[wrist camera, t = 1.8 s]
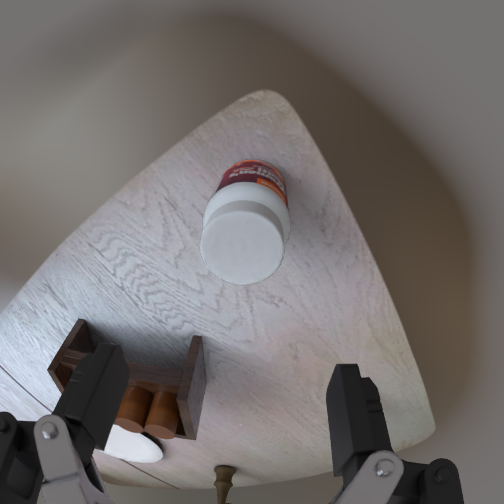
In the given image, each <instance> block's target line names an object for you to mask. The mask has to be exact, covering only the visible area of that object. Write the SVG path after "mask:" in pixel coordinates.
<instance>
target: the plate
mask: <svg viewBox="0 0 504 504" xmlns="http://www.w3.org/2000/svg"><path fill="white" fill-rule="evenodd" d="M98 450H99V449H98ZM100 451H102V450H100ZM102 452H104V453H106V454H109V455H111V456H114V457H117V458H120V459H124V460H127V461H132V462H138V463H154V462H157V461H160V460H161V459H162V457H163V453H162V450H161V449H160V448H159V446H158V445H157V444H156V443H155V442H153V441H152V440H151V439H150V438H148V437H147V436H145V435H144V434H142V433H133V432H129V431H127V430H125V429H123V428H121V427H120V426H118V425H114V424H113V426H112V429H111V432H110V435H109V438H108V440H107V443H106V446H105V449H104V451H102Z"/></svg>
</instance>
